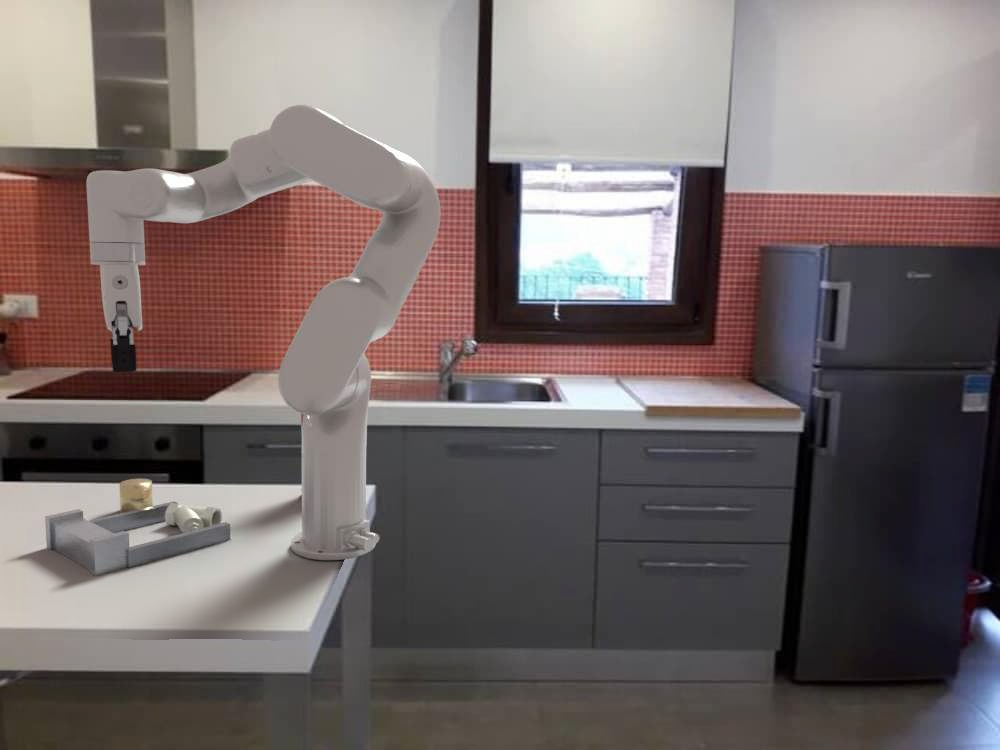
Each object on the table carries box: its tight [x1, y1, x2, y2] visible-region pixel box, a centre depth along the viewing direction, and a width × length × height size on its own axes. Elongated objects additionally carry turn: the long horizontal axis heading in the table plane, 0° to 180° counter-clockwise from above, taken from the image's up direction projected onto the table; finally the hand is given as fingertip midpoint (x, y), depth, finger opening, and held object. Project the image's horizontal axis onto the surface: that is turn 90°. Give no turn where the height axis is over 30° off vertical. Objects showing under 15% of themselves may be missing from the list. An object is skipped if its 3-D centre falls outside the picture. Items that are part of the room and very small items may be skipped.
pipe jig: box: [44, 501, 231, 576], centre depth 123 cm, size 16×20×5 cm
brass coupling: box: [119, 478, 154, 513], centre depth 138 cm, size 5×5×5 cm
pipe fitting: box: [164, 503, 223, 534], centre depth 129 cm, size 8×4×7 cm
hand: (123, 367), depth 126 cm, fingers open, 9 cm apart
